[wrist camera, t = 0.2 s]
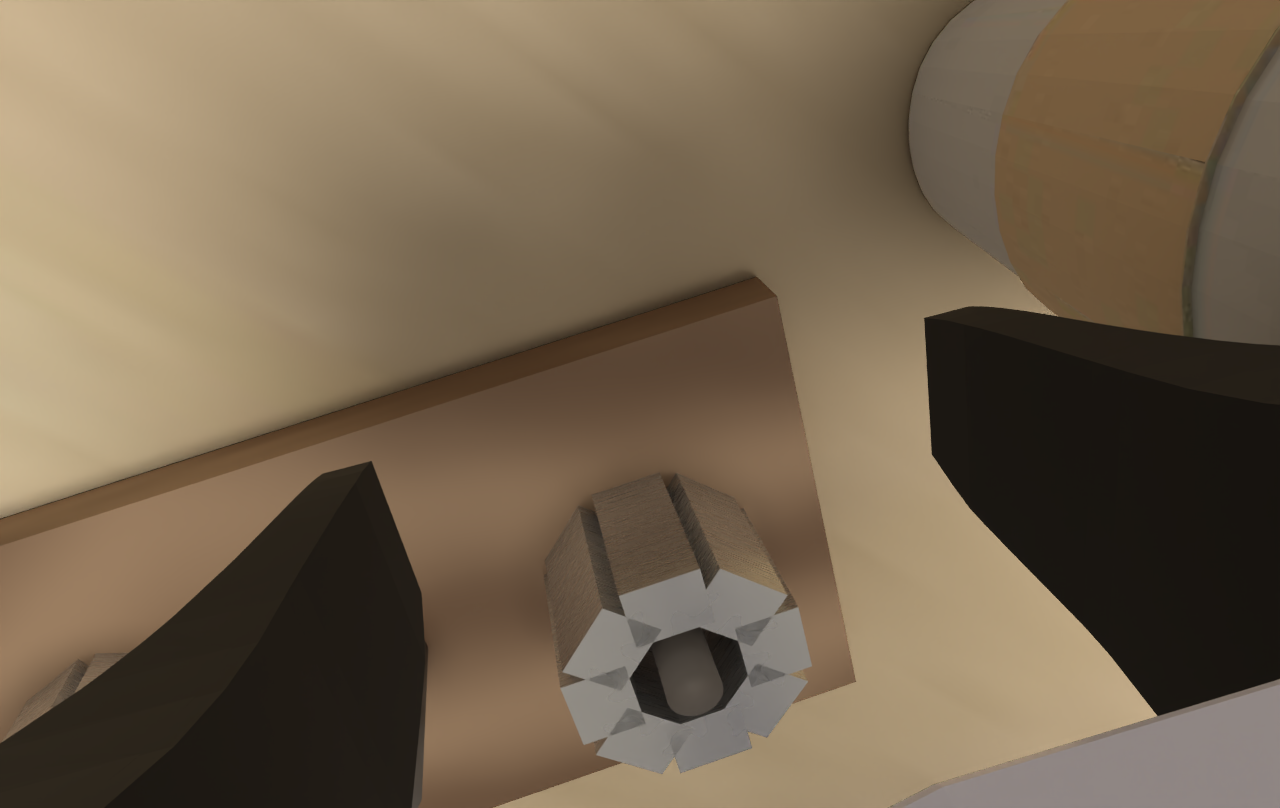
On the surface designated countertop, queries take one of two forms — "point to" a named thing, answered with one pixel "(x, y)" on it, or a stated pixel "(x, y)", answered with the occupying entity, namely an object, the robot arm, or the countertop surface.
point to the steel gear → (670, 622)
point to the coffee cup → (1114, 156)
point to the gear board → (464, 527)
